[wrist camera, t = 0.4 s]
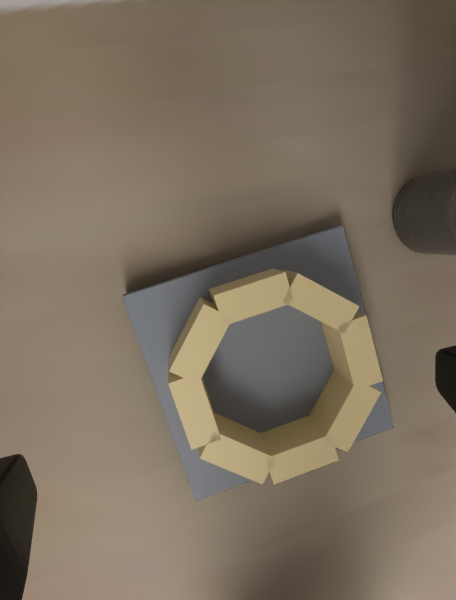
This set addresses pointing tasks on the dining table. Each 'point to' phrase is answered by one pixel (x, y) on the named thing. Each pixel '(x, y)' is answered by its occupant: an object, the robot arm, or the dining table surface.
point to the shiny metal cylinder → (428, 213)
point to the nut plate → (263, 362)
